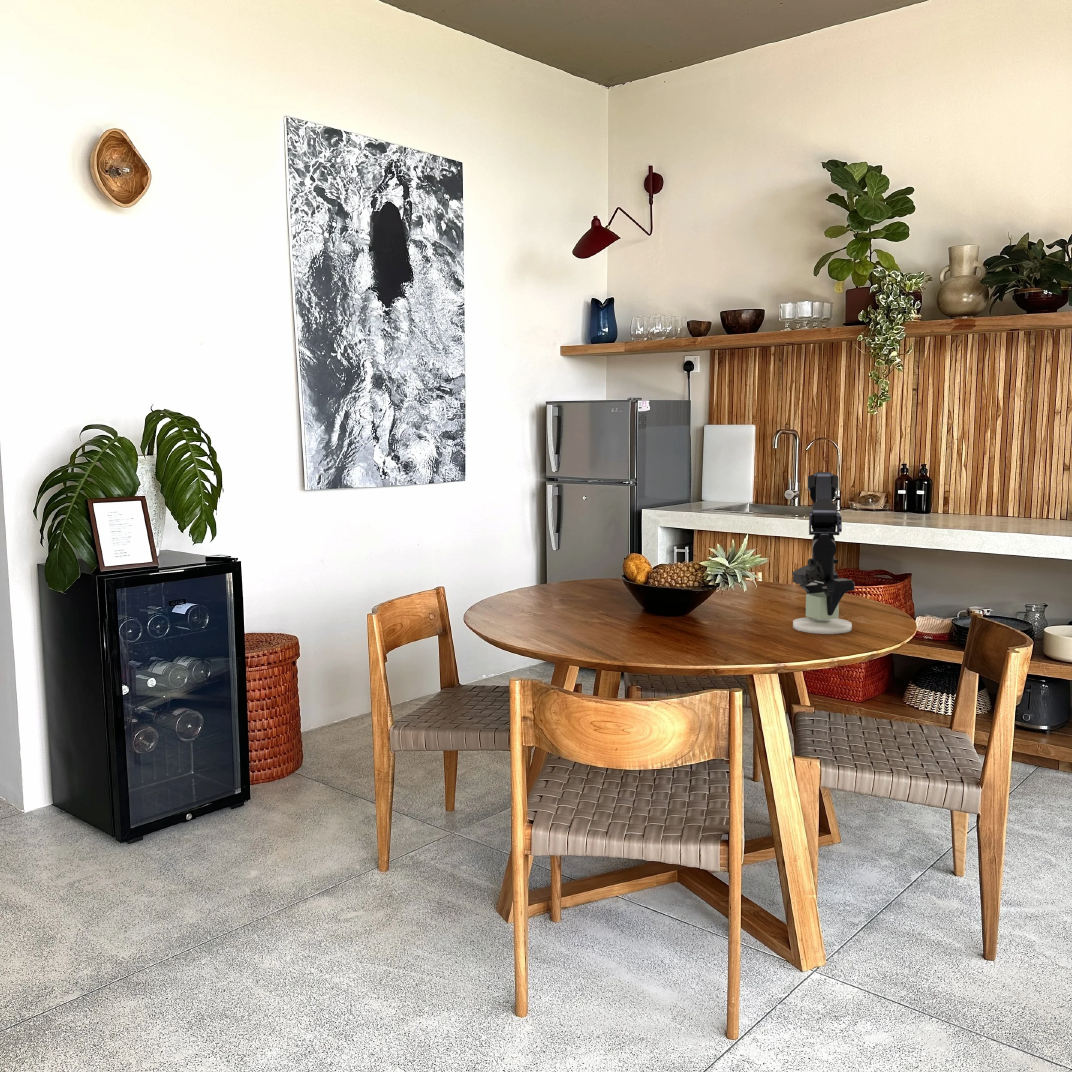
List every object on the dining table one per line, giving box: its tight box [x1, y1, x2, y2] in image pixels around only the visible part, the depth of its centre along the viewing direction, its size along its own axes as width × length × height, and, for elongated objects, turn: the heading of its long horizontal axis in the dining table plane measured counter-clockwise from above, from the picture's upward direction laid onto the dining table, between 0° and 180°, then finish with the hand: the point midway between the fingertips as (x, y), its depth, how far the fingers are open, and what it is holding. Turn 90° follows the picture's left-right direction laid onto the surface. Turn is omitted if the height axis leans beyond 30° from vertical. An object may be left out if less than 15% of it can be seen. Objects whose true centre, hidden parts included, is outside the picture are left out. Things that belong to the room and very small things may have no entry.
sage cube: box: [805, 592, 840, 620], centre depth 258 cm, size 6×6×6 cm
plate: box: [792, 616, 853, 635], centre depth 259 cm, size 15×15×2 cm
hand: (822, 613), depth 259 cm, fingers closed on sage cube, 6 cm apart
